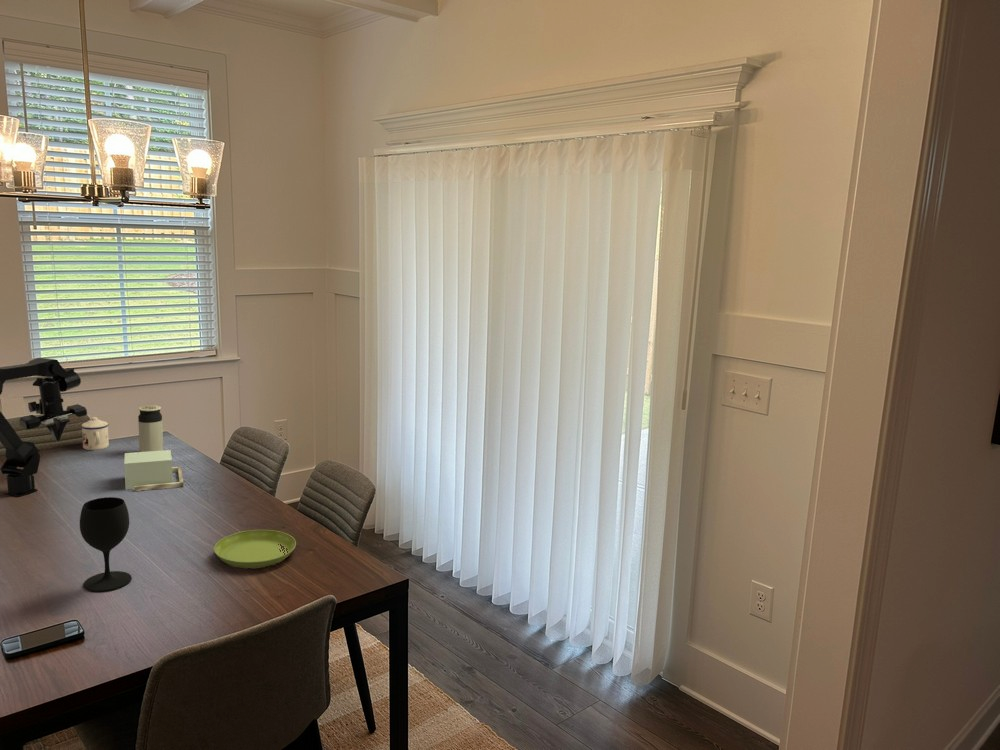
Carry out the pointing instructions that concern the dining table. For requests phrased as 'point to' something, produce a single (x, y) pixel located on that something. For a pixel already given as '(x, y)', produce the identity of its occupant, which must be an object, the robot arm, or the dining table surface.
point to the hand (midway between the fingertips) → (57, 440)
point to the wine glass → (105, 538)
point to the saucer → (254, 548)
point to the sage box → (148, 468)
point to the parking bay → (164, 485)
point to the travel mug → (150, 429)
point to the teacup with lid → (95, 434)
